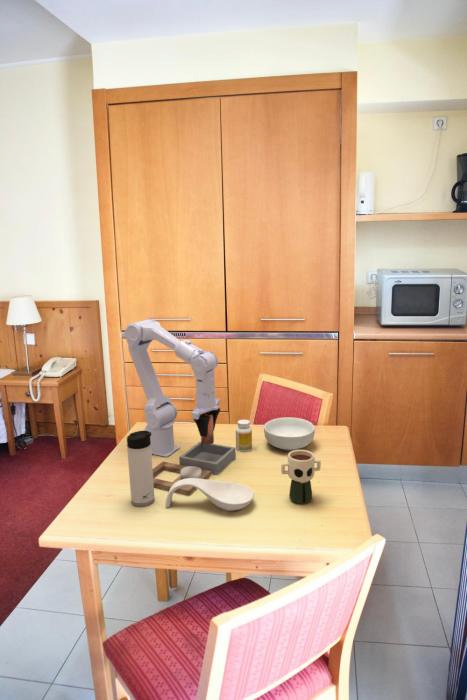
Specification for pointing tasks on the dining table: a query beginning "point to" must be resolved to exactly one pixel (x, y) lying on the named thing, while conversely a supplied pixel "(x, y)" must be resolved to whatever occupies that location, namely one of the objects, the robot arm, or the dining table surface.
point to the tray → (208, 457)
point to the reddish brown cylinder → (209, 432)
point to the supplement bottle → (243, 436)
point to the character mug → (300, 474)
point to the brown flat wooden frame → (185, 473)
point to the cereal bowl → (289, 433)
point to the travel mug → (140, 468)
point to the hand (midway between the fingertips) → (207, 433)
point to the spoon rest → (217, 492)
